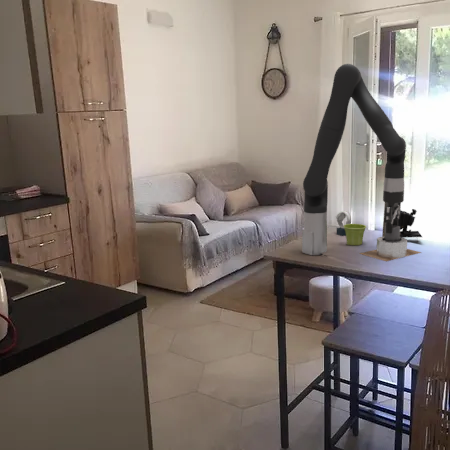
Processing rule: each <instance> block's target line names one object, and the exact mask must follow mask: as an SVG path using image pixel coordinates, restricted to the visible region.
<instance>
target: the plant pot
mask: <svg viewBox="0 0 450 450" xmlns="http://www.w3.org/2000/svg"><path fill="white" fill-rule="evenodd" d="M343 225H344V228H345V232H346V236H345V240H346V246H361V245H362V244H363V239H364V236H365V235H364V233H365V230H366V228H367V225H365V224H362V223H351V224H346V223H345V224H343Z"/></svg>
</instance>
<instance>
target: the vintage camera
mask: <svg viewBox="0 0 450 450" xmlns="http://www.w3.org/2000/svg"><path fill="white" fill-rule="evenodd" d="M385 207H388V203H387V202H384V209H383V217H384V216H385ZM417 212H418V211H417V210H416V209H414V208H412V209H411V212H410V213H409V212H407V211H404V210H402V209H400V217H399V219H398V226H400V237H403V238H423V235H421V233H420V232H419V230H412V229H409V230H408V227H412V226H413V224H414V222H415V219H416V216H415V215H416V214H417ZM388 220H390V218H389V219H388ZM385 226H386V223H384V219H383V222H382V235H381V237H383V236H385ZM416 242H417V243H418V240H416Z"/></svg>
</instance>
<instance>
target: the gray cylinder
mask: <svg viewBox="0 0 450 450" xmlns="http://www.w3.org/2000/svg"><path fill="white" fill-rule="evenodd" d="M400 231H401V230H400V226H396V225H392V233H391V234H390V233H386V226H385V239H384V241H390V242H397V241H400Z"/></svg>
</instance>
